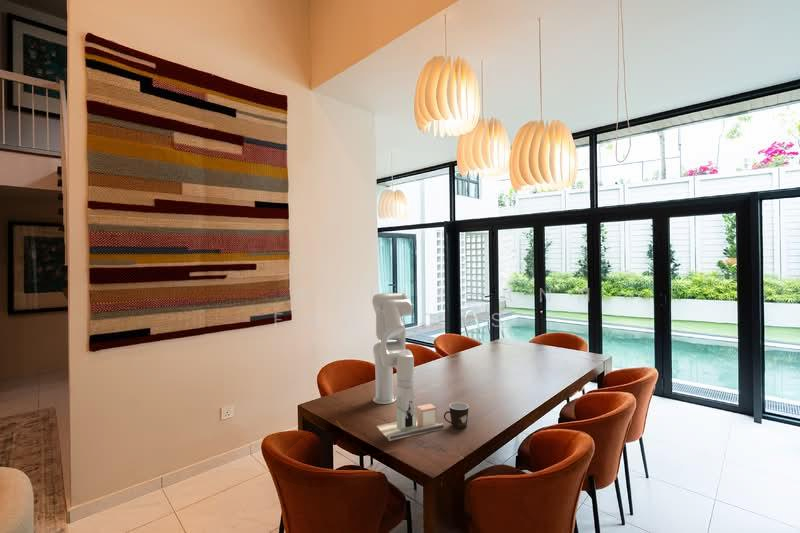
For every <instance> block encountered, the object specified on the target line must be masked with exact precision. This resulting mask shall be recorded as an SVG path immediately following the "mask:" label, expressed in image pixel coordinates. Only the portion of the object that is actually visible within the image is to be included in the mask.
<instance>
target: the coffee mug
mask: <svg viewBox="0 0 800 533" xmlns="http://www.w3.org/2000/svg"><path fill="white" fill-rule="evenodd" d="M448 406H449V408H448V409H449V410H448V411H445V413H444V414H443V419H444V420H445V421H446V422H447V423H449V424H451V427H452V428H453V429H454V430H465V429H467V428H468V417H469V407H470V406H469V405H468V404H467V403H464V402H452V403H450V404H448ZM448 413H449V414H450V420H448V419H447V418H446V415H447V414H448Z"/></svg>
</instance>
